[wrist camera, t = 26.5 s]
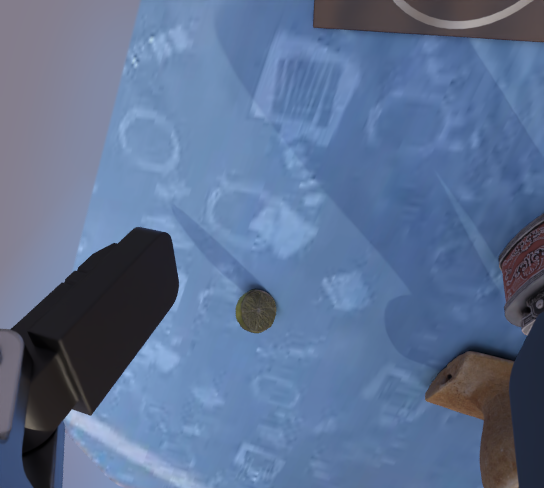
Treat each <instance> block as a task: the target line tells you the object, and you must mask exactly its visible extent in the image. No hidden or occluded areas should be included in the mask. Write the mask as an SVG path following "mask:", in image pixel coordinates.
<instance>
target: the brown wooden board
mask: <svg viewBox="0 0 544 488" xmlns="http://www.w3.org/2000/svg"><path fill="white" fill-rule="evenodd" d="M313 27H314V28H329V29H344V30H360V31H376V32H391V33H407V34H422V35H438V36H454V37H469V38H485V39H501V40H516V41H532V42H544V0H314V18H313Z"/></svg>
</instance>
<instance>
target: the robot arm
mask: <svg viewBox="0 0 544 488" xmlns="http://www.w3.org/2000/svg"><path fill="white" fill-rule="evenodd" d="M178 289H179V279H178V273H177V267H176V262H175V256H174V250H173V244H172V239H171V236H170V235H169V234H168V233H166V232H161V231H156V230H152V229H147V228H142V227H136V228H134V229H133V230H132V231H131V232H130V233H128V234H127V235H126V236H125V237H124V238H123V239H122V240H121V241H120V242H119V243H118V244H117V243H113V244H111V245H109V246H107V247H105V248H103V249H101V250H99V251H98V252H96V253H94V254H92V255H91V256H90V257H89V258H88V259H87V260H86V261H85V262H84V263H83V264H82V265H80V266H79V267H78V270H77V271H74V272H73V273H72V274H71V275H69V276H68V277H67V278H66V279H65V282H64V283H61V284H60V285H59V286H57V287H56V288H55V289H54V290H53V291H52V292H51V293H50V294H49V295H48V296H47V297H46V298H45V299H43V300H42V301H41V302H40V303H39V304H38V305H37V306H36V307H35V308H33V310H31V311H30V312H29V313H28V314H27V315H26V316H25V317H24V318H23V319H22V320H20V321H19V322H18V323H17V324H16V325H15V326H14V327H13V328H11V329H10V330H9V329H0V488H62V481H63V460H64V440H65V425H64V421H63V420H64V418H65V417H66V416H67V415H68V413H69V412H70V411H71V409H73V410H76V411H79V412H82V413H85V414H88V415H90V416H91V415H92V414H93V412H94V411H95V410H96V408H97V407H98V406H99V404H100V403H101V402H102V400H103V399H104V398H105V396H106V395H107V393H108V392H109V391H110V389H111V388H112V387H113V385H114V384H115V383H116V381H117V380H118V379H119V377H120V376H121V375H122V373H123V372H124V371H125V369H126V368H127V366H128V365H129V364H130V362H131V361H132V360H133V358H134V357H135V356H136V354H137V353H138V352H139V350H140V349H141V348H142V346H143V345H144V344H145V342H146V341H147V339H148V338H149V337H150V335H151V334H152V333H153V331H154V330H155V329H156V327H157V326H158V325H159V323H160V322H161V321H162V319H163V318H164V317H165V315H166V314H167V312H168V311H169V310H170V308H171V307H172V306H173V304H174V302H175V300H176V297H177V294H178ZM509 397H510V407H511V416H512V426H513V435H514V445H515V455H516V464H517V474H518V484H519V488H544V312H542V313H540V314H539V315H538V316H537V318H536V320H535V322H534V324H533V326H532V328H531V330H530V332H529V334H528V336H527V338H526V340H525V342H524V344H523V346H522V348H521V350H520V352H519V354H518V356H517V358H516V360H515V362H514V364H513V367H512V370H511V375H510V382H509Z"/></svg>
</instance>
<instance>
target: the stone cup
mask: <svg viewBox="0 0 544 488" xmlns="http://www.w3.org/2000/svg"><path fill="white" fill-rule="evenodd" d="M514 362H515V361H512V360H507V359H503V358H499V357H495V356H491V355H487V354H483V353H479V352H473V351H468V352H466V353H464V354H462V355H459V356H457V358H455V359H454V360H453V361H452V362H450V363H449V364H448V365H447V367H446V368H444V369H443V370H442V371H441V372H440V373H439V374H438V375H437V377H436V379H435V380H434V381H432V383H431V385H430V387H429V389H428V390H427V392H426V394H425V400H426V401H427V402H430V403H433V404H436V405H439V406H443V407H445V408H448V409H451V410H454V411H457V412H460V413H463V414H466V415H470V416H473V417H476V418H479V419H482V420H484V425H483V432H482V437H481V446H480V470H481V477H482V483H483V487H484V488H519V484H518V474H517V464H516V455H515V445H514V435H513V426H512V416H511V407H510V397H509V382H510V375H511V370H512V367H513V364H514Z"/></svg>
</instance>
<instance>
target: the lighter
mask: <svg viewBox="0 0 544 488" xmlns="http://www.w3.org/2000/svg"><path fill="white" fill-rule="evenodd" d="M499 267H500V269H501V271H502V273H503V281H504V289H505V298H506V304H505V306H504V310H505V317H506V319H507V320H508V321H509V322H510V323H511V324H513V325H515V326H518V327H521V329H522V332H523V333H524V334H525V335H527V336H528V334H529V332H530V330H531V328H532V326H533V324H534V322H535V320H536V318H537V316H538V315H539V314H540V313H542V312H544V214H542V215H541V216H539V217H538V218H536V219H535V220H534V221H532V222H531V223H530V224H529V225H527V226H526V227H525V228H523V229H522V230H521V231H520V232H519V233H518V234H517V235H516V236H515V237H514V238H513V239H512V240H511V241H510V242H509V244H508V245H507V246H506V248H505V249H504V250H503V252H502V253H501V254H500V256H499Z"/></svg>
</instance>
